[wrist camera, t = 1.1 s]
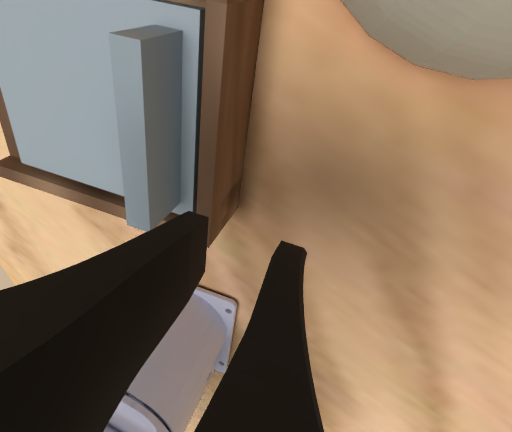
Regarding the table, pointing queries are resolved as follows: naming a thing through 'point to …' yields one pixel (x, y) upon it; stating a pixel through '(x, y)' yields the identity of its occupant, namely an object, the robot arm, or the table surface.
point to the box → (211, 124)
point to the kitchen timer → (443, 33)
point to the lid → (108, 96)
